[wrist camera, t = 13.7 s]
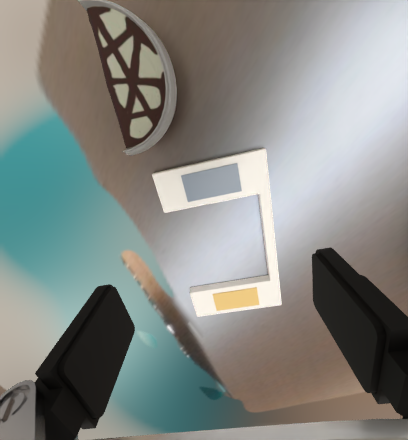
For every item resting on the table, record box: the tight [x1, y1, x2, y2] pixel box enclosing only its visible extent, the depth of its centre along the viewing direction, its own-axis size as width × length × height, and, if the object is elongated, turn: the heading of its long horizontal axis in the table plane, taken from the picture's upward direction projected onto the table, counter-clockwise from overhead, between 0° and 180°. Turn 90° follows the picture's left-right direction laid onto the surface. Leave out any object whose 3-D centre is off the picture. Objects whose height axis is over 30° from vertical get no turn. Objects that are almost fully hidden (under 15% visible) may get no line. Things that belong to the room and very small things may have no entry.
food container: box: [78, 0, 177, 156], centre depth 22 cm, size 12×6×10 cm, turn 9°
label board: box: [152, 148, 282, 317], centre depth 35 cm, size 16×28×2 cm, turn 12°
